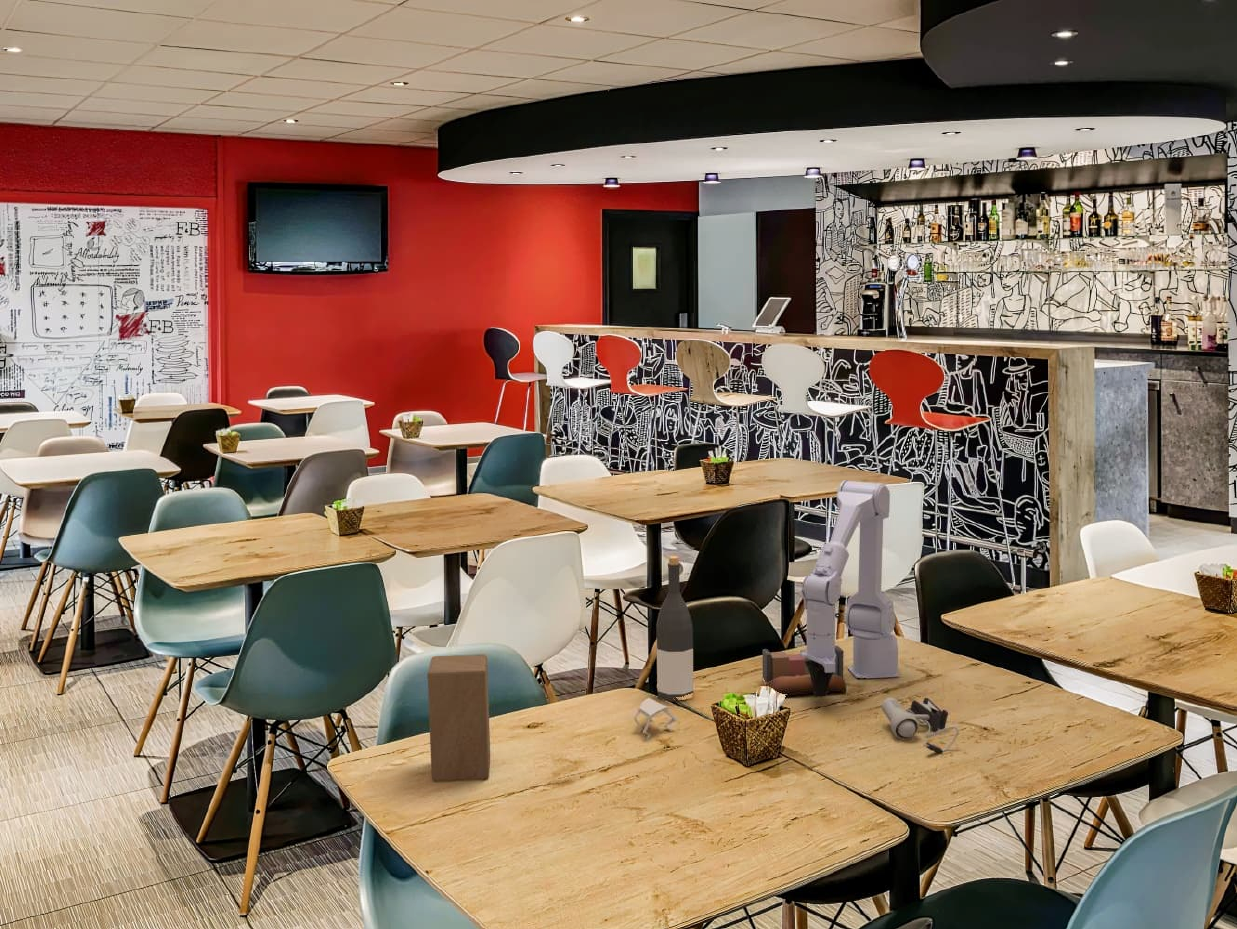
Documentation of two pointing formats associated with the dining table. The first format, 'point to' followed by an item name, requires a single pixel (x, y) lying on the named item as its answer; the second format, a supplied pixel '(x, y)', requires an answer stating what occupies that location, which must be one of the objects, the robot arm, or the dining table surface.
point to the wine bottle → (674, 641)
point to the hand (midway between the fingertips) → (820, 695)
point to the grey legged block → (653, 713)
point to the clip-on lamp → (907, 723)
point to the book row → (793, 664)
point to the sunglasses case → (803, 684)
